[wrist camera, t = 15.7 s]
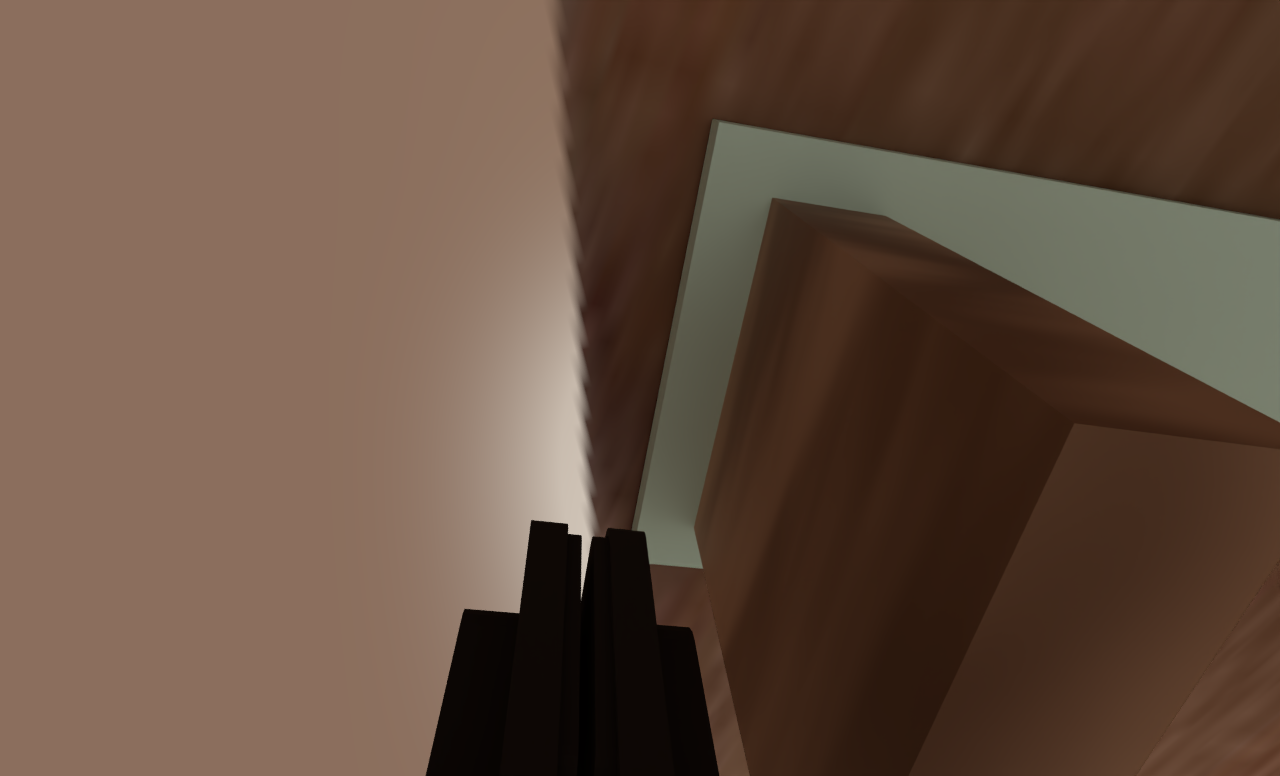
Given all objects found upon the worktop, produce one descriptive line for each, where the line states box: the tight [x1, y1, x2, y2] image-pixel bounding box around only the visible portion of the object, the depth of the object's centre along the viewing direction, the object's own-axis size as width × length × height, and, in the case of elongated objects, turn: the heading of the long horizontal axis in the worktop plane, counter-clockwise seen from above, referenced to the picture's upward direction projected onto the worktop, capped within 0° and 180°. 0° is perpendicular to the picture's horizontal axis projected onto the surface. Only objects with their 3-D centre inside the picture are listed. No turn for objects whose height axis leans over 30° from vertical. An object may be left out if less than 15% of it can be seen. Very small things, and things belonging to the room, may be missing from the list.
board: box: [694, 198, 1280, 776], centre depth 14 cm, size 3×10×12 cm, turn 171°
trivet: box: [632, 119, 1280, 569], centre depth 21 cm, size 20×13×1 cm, turn 80°
